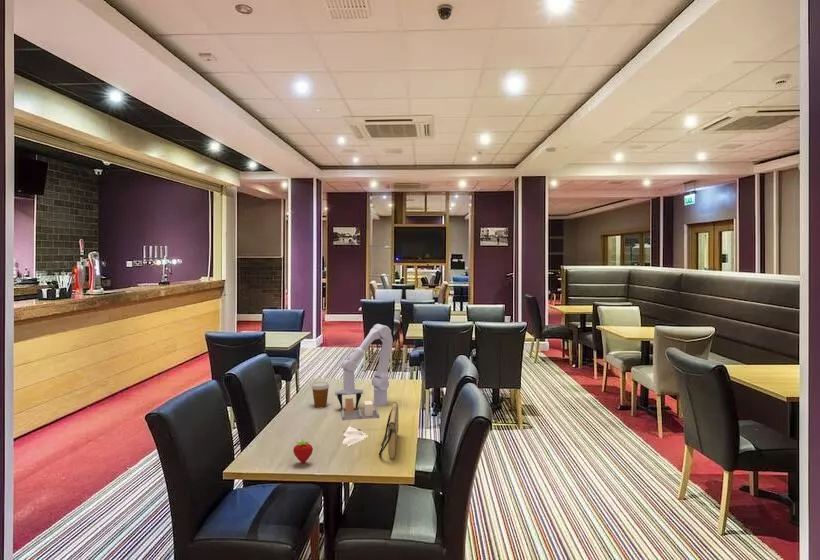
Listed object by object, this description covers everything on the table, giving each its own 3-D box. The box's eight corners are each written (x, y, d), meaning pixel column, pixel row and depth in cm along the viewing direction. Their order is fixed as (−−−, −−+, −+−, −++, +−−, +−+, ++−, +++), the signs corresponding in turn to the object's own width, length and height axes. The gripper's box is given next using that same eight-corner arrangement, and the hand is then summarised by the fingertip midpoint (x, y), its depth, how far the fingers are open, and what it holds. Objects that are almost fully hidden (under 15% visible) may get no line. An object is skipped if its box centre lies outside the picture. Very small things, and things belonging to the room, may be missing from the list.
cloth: (360, 449, 193) (360, 444, 193) (328, 447, 195) (328, 442, 195) (375, 427, 219) (375, 423, 218) (347, 426, 221) (347, 421, 221)
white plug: (364, 412, 235) (364, 401, 235) (372, 412, 236) (371, 400, 236) (365, 416, 230) (364, 404, 229) (373, 416, 230) (372, 404, 230)
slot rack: (341, 414, 237) (341, 409, 236) (376, 412, 240) (376, 407, 239) (342, 422, 225) (342, 417, 225) (379, 419, 228) (379, 414, 228)
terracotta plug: (345, 409, 244) (345, 398, 244) (352, 409, 244) (352, 398, 244) (345, 413, 238) (345, 402, 238) (353, 413, 239) (353, 401, 238)
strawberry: (311, 466, 176) (310, 441, 175) (291, 466, 176) (291, 440, 176) (314, 460, 182) (314, 435, 181) (295, 460, 182) (295, 435, 181)
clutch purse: (383, 433, 210) (383, 401, 209) (398, 433, 209) (398, 401, 209) (377, 461, 180) (377, 423, 179) (395, 461, 180) (395, 423, 179)
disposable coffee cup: (308, 407, 248) (307, 385, 247) (318, 402, 257) (317, 381, 256) (323, 409, 244) (323, 387, 244) (332, 404, 253) (332, 382, 253)
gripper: (334, 385, 235) (335, 411, 236) (363, 383, 238) (363, 409, 238) (334, 381, 242) (335, 407, 243) (362, 380, 245) (362, 405, 245)
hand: (349, 408), depth 241 cm, fingers open, 7 cm apart
